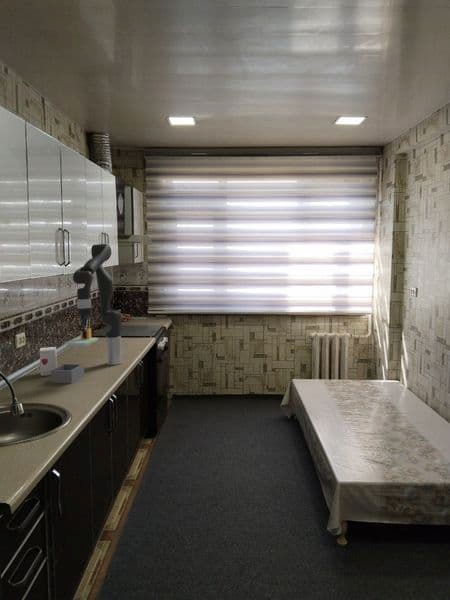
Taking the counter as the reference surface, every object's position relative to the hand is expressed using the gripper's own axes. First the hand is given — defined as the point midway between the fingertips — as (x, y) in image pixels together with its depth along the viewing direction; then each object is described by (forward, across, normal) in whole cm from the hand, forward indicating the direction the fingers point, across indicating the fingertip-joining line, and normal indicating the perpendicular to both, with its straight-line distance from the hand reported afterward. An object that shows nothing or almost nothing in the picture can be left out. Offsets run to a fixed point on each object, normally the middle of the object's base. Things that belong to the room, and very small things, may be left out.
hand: (86, 337), depth 289 cm
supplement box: (+23, -6, -28) cm, 37 cm away
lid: (+3, +5, 0) cm, 6 cm away
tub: (+23, +5, -10) cm, 25 cm away
